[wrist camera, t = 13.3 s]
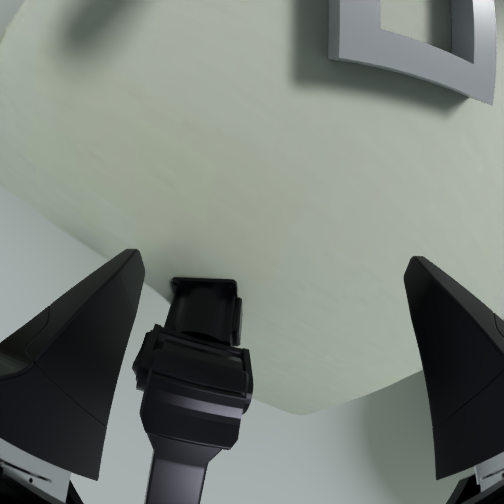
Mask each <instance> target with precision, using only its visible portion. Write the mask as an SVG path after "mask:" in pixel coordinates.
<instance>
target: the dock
mask: <svg viewBox="0 0 504 504" xmlns="http://www.w3.org/2000/svg"><path fill="white" fill-rule="evenodd" d="M450 1H451V20H452V47H451V53H449V52H446V51H444V50H442V49H439V48H437V47H434V46H432V45H429V44H426V43H424V42H421V41H418V40H415V39H412V38H409V37H406V36H403V35H400V34H397V33H393V32H390V31H386V30H382V29H380V0H329V35H328V59H331V60H338V61H345V62H351V63H356V64H362V65H367V66H371V67H376V68H381V69H385V70H389V71H393V72H397V73H401V74H404V75H408V76H411V77H415V78H418V79H421V80H424V81H427V82H430V83H433V84H436V85H439V86H442V87H445V88H447V89H450V90H453V91H455V92H458V93H460V94H463V95H465V96H467V97H470V98H473V99H475V100H478V101H481V102H484V103H487V104H489V105H493V97H494V88H495V76H496V55H497V38H496V17H495V6H494V0H450Z"/></svg>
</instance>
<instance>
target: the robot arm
mask: <svg viewBox="0 0 504 504" xmlns="http://www.w3.org/2000/svg"><path fill="white" fill-rule="evenodd" d="M144 277H145V268H144V264H143V261H142V257H141V254H140V251H139V250H138V249H126V250H124V251H123V252H121V253H120V254H118V255H117V256H115V257H114V258H113V259H111V260H110V261H108V262H107V263H105V264H104V265H103V266H101V267H100V268H98V269H97V270H96V271H94V272H93V273H92V274H90V275H89V276H87V277H86V278H85V279H84V280H82V281H81V282H79V283H78V284H77V285H75V286H74V287H73V288H71V289H70V290H69V291H68V292H66V293H65V294H63V295H62V296H61V297H60V298H58V299H57V300H56V301H54V302H53V303H52V304H51V305H50V306H48V307H47V308H45V309H44V310H43V311H42V312H40V313H39V314H38V315H37V316H35V317H34V318H33V319H32V320H30V321H29V322H28V323H26V324H25V325H24V326H22V327H21V328H19V329H18V330H17V331H15V332H14V333H13V334H11V335H10V336H9V337H7V338H6V339H5V340H3V341H2V342H1V343H0V504H84V503H83V502H82V500H81V498H80V497H79V495H78V493H77V492H76V490H75V488H74V486H73V484H72V483H71V481H70V476H71V472H72V473H75V474H78V475H81V476H84V477H86V478H90V479H93V480H96V481H97V480H98V477H99V470H100V463H101V456H102V451H103V444H104V440H105V435H106V429H107V423H108V419H109V414H110V409H111V405H112V401H113V396H114V392H115V388H116V384H117V380H118V376H119V372H120V368H121V365H122V361H123V357H124V354H125V350H126V347H127V343H128V340H129V337H130V333H131V330H132V326H133V323H134V320H135V317H136V313H137V308H138V304H139V299H140V295H141V290H142V286H143V281H144ZM176 282H177V283H176ZM230 284H232V285H230ZM404 284H405V289H406V294H407V299H408V304H409V310H410V315H411V320H412V324H413V328H414V332H415V336H416V340H417V344H418V348H419V352H420V357H421V361H422V366H423V370H424V375H425V381H426V386H427V392H428V398H429V405H430V412H431V419H432V426H433V428H432V429H433V439H434V451H435V469H436V480H439V479H442V478H445V477H448V476H451V475H453V474H456V473H459V472H461V471H464V470H466V469H468V468H471V467H473V466H474V468H475V473H473V474H471V475H469V476H467V477H465V478H463V479H461V480H460V481H459V482H458V484H457V486H456V488H455V490H454V492H453V493H452V495H451V497H450V498H449V500H448V501H447V503H446V504H504V321H503V320H502V319H501V318H500V317H499V316H497V315H496V314H495V313H493V311H492V310H491V309H489V308H488V307H487V306H486V305H485V304H484V303H482V302H481V301H480V300H479V299H478V298H476V297H475V296H474V295H473V294H472V293H470V292H469V291H468V290H467V289H465V288H464V287H463V286H462V285H460V284H459V283H458V282H457V281H455V280H454V279H453V278H452V277H450V276H449V275H448V274H446V273H445V272H444V271H442V270H441V269H440V268H438V267H437V266H436V265H434V264H433V263H432V262H430V261H429V260H428V259H426V258H425V257H423V256H413V257H412V258H411V259H410V262H409V264H408V267H407V269H406V271H405V274H404ZM171 285H172V289H173V293H174V297H173V300H172V303H171V306H170V309H169V313H168V316H167V319H166V322H165V326H164V327H161V325H158V324H155V326H154V329H153V330H151V331H150V332H147V333H146V335H145V338H144V341H143V344H142V347H141V349H140V351H139V353H138V355H137V357H136V359H135V361H134V363H133V366H132V369H133V371H134V373H135V375H136V381H137V386H136V388H137V390H141V391H143V392H144V394H143V399H142V403H141V408H140V417H141V420H142V423H143V427H144V430H145V431H146V433H147V435H148V437H149V440H150V442H151V445H152V447H153V455H152V460H151V466H150V471H149V477H148V483H147V489H146V495H145V502H144V504H200V500H201V495H202V490H203V485H204V480H205V475H206V470H207V466H208V462H209V461H210V460H212V459H213V458H214V457H215V456H216V455H217V454H218V453H219V452H220V451H221V450H222V449H225V450H229V449H231V448H232V446H233V445H234V444H235V443H236V441H237V440H238V435H239V427H240V421H241V416H242V414H244V413H245V412H246V411H247V409H248V407H249V405H250V402H251V398H252V393H253V376H252V368H251V361H250V353H249V349H245V348H243V349H241V348H236V347H234V346H239V345H240V339H241V326H242V299H241V298H238V295H237V282H236V281H235V280H230V279H202V278H179V277H175V278H173V279H172V281H171Z"/></svg>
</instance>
